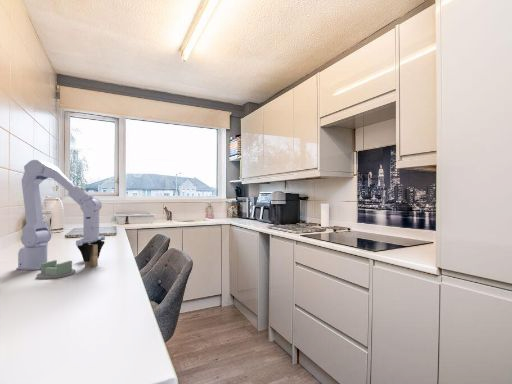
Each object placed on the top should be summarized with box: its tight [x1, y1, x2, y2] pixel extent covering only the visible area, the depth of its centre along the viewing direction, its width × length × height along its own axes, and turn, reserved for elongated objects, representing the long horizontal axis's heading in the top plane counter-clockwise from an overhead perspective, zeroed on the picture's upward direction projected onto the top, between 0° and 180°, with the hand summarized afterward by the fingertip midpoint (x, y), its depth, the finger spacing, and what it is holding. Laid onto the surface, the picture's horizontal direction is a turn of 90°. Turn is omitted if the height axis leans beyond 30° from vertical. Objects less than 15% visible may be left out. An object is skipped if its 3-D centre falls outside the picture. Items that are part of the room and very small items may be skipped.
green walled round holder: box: [36, 259, 76, 280], centre depth 106 cm, size 12×12×5 cm
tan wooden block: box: [84, 244, 99, 268], centre depth 118 cm, size 4×2×9 cm, turn 82°
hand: (91, 259), depth 118 cm, fingers open, 5 cm apart
